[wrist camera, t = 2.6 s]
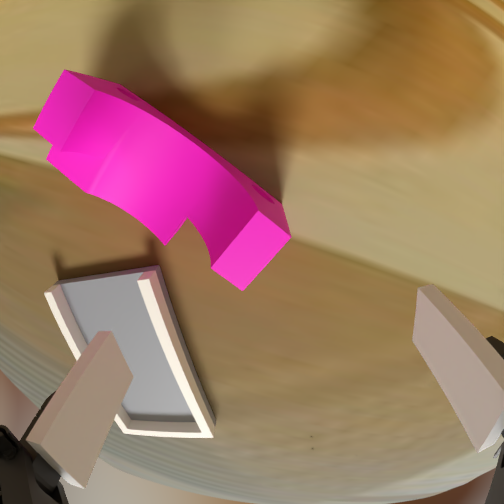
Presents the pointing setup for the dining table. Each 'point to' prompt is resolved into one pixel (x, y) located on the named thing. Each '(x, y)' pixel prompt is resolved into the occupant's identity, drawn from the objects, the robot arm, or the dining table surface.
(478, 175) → the dining table surface
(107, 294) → the tray
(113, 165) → the toy block
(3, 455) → the robot arm
